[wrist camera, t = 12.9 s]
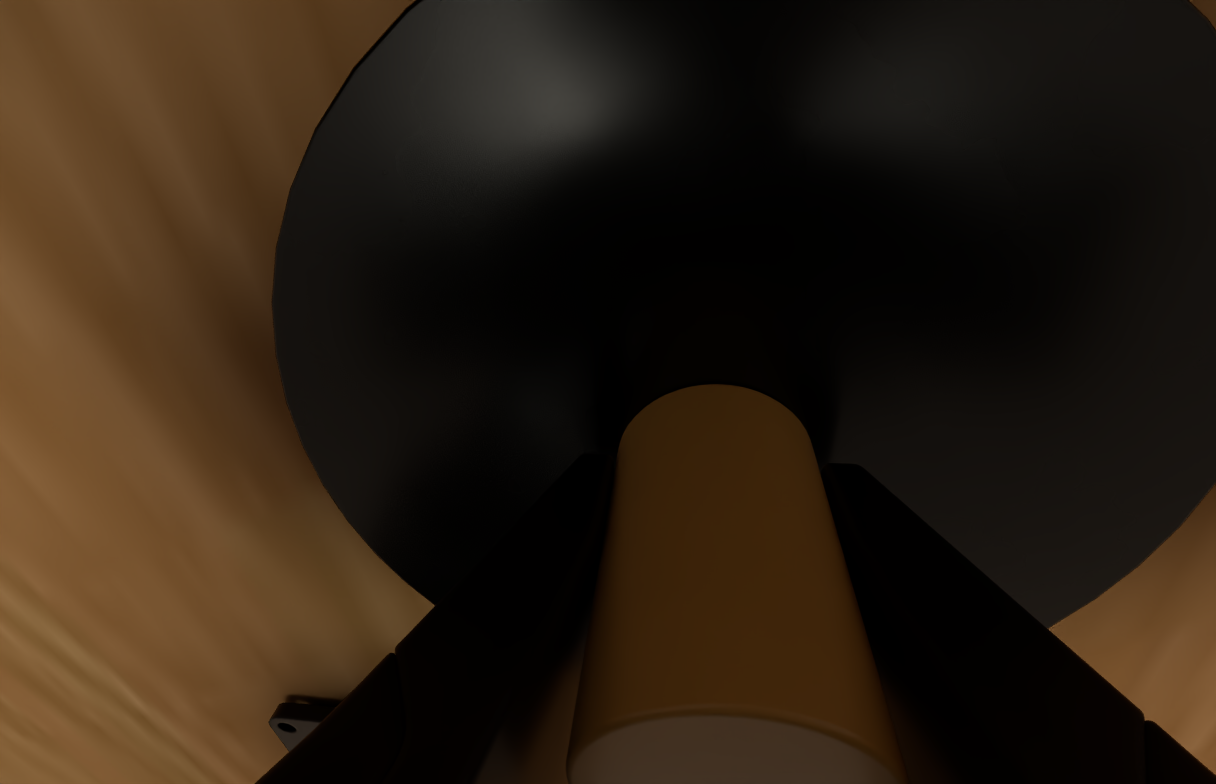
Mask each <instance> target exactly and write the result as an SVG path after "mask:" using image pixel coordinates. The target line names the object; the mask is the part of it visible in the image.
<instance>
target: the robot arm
mask: <svg viewBox="0 0 1216 784" xmlns="http://www.w3.org/2000/svg"><path fill="white" fill-rule="evenodd" d="M614 472H615V470H614V460H613V458H612V456H610V455H608V454H582V455H581V456H579V457H578V458H577V459H576V460H575V461H574V462H573V463H572V464H571V465H570V466H569V467H568V468H567V470H566V471H565V472H564V473H563V474H562V475H561V476H560V477H559V478H558V479H557V480H556V481H555V482H554V483H553V484H552V485H551V486H550V487H549V488H548V489H547V490H546V491H545V492H544V493H543V494H542V495H541V497H540V498H539V499H538V500H537V501H536V502H535V503H534V504H533V505H532V506H531V507H530V508H529V509H528V510H527V511H526V512H525V513H524V514H523V515H522V516H521V517H520V518H519V519H518V520H517V521H516V522H515V524H514V525H513V526H512V527H511V528H510V529H509V530H508V531H507V532H506V533H505V534H504V535H503V536H502V537H501V538H500V539H499V540H498V541H497V542H496V543H495V544H494V545H493V546H492V547H491V548H490V549H489V550H488V552H487V553H486V554H485V555H484V556H483V557H482V558H481V559H480V560H479V561H478V562H477V563H476V564H475V565H474V566H473V567H472V568H471V569H470V570H469V571H468V572H467V573H466V574H465V575H464V576H463V577H462V579H461V580H460V581H459V582H458V583H457V584H456V585H455V586H454V587H453V588H452V589H451V590H450V591H449V592H448V593H447V594H446V595H445V596H444V597H443V598H442V599H441V600H440V601H439V602H438V603H437V604H436V606H435V607H434V608H433V609H432V610H431V611H430V612H429V613H428V614H427V615H426V616H425V617H424V618H423V619H422V620H421V621H420V622H419V623H418V624H417V625H416V626H415V627H414V628H413V629H412V630H411V631H410V633H409V634H408V635H407V636H406V637H405V638H404V639H403V640H402V641H401V642H400V643H399V644H398V645H397V646H396V648H395V654H396V655H395V654H394V653H389V654H388V655H387V656H386V657H385V658H384V659H383V660H382V661H381V662H380V663H379V664H378V665H377V666H376V667H375V668H374V669H373V670H372V672H371V673H370V674H369V675H368V676H367V677H366V678H365V679H364V680H363V681H362V682H361V683H360V684H359V685H358V686H357V687H356V688H355V689H354V690H353V691H352V692H351V693H350V694H349V695H348V696H347V697H346V698H345V699H344V700H343V701H342V702H341V703H340V704H339V705H338V706H337V707H336V708H335V707H326V706H316V705H306V704H297V703H281V704H279V705H278V707H277V709H276V710H275V712H274V713H273V715H272V717H271V718H270V720H269V725H270V727H271V728H272V729H273V731H274V732H275V733H276V735H277V736H278V737H279V739H280V740H281V741H282V743H283V744H284V745H285V747H286V748H287V749H288V751H289V753H288V754H286V755H285V756H284V757H283V758H282V759H281V760H280V761H279V762H278V763H277V764H276V765H274V766H273V767H272V768H271V769H270V770H269V771H268V772H267V773H266V774H265V775H264V776H262V777H261V778H260V779H259V780H258V781H257V782H256V783H255V784H569V782H568V779H567V774H566V758H567V752H568V746H569V740H570V734H571V729H572V723H573V717H574V711H575V705H576V699H577V693H578V687H579V681H580V675H581V669H582V663H583V657H584V651H585V645H586V639H587V633H588V627H589V621H590V615H591V609H592V603H593V597H594V591H595V585H596V579H597V573H598V567H599V561H600V555H601V549H602V544H603V538H604V532H605V526H606V520H607V514H608V508H609V502H610V496H611V490H612V484H613V478H614ZM821 478H822V481H823V485H824V488H825V491H826V495H827V498H828V502H829V505H830V509H831V512H832V516H833V519H834V522H835V526H836V529H837V533H838V536H839V540H840V543H841V547H842V550H843V553H844V557H845V560H846V564H847V567H848V571H849V574H850V578H851V581H852V584H853V588H854V591H855V595H856V598H857V602H858V605H859V609H860V612H861V615H862V619H863V622H864V626H865V629H866V633H867V636H868V640H869V643H870V646H871V650H872V653H873V657H874V660H875V664H876V667H877V671H878V674H879V677H880V681H881V684H882V688H883V691H884V695H885V698H886V702H887V705H888V709H889V712H890V715H891V719H892V722H893V726H894V729H895V733H896V736H897V740H898V743H899V746H900V750H901V753H902V757H903V760H904V764H905V767H906V771H907V774H908V777H909V781H910V784H1216V775H1215V774H1214V773H1213V772H1211V771H1210V770H1209V769H1208V768H1207V767H1205V766H1204V765H1203V764H1202V763H1201V762H1200V761H1199V760H1197V759H1196V758H1195V757H1194V756H1193V755H1192V754H1190V753H1189V752H1188V751H1187V750H1186V749H1185V748H1184V747H1182V746H1181V745H1180V744H1179V743H1178V742H1177V741H1176V740H1174V739H1173V738H1172V737H1171V736H1170V735H1169V734H1168V733H1166V732H1165V731H1164V730H1163V729H1162V728H1161V727H1160V726H1158V725H1157V724H1156V723H1155V722H1153V721H1149V720H1146V721H1145V719H1144V714H1143V713H1142V711H1141V710H1140V709H1139V708H1137V707H1136V706H1135V705H1134V704H1133V703H1132V702H1131V701H1129V700H1128V699H1127V698H1126V697H1125V696H1124V695H1123V694H1121V693H1120V692H1119V691H1118V690H1117V689H1116V688H1115V687H1113V686H1112V685H1111V684H1110V683H1109V682H1108V681H1107V680H1105V679H1104V678H1103V677H1102V676H1101V675H1100V674H1099V673H1097V672H1096V671H1095V670H1094V669H1093V668H1092V667H1091V666H1089V665H1088V664H1087V663H1086V662H1085V661H1084V660H1083V659H1081V658H1080V657H1079V656H1078V655H1077V654H1076V653H1075V652H1073V651H1072V650H1071V649H1070V648H1069V647H1068V646H1067V645H1065V644H1064V643H1063V642H1062V641H1061V640H1060V639H1059V638H1057V637H1056V636H1055V635H1054V634H1053V633H1052V632H1051V631H1049V630H1048V629H1047V628H1046V627H1045V626H1044V625H1043V624H1041V623H1040V622H1039V621H1038V620H1037V619H1036V618H1035V617H1033V616H1032V615H1031V614H1030V613H1029V612H1028V611H1027V610H1025V609H1024V608H1023V607H1022V606H1021V605H1020V604H1019V603H1017V602H1016V601H1015V600H1014V599H1013V598H1012V597H1011V596H1009V595H1008V594H1007V593H1006V592H1005V591H1004V590H1003V589H1001V588H1000V587H999V586H998V585H997V584H996V583H995V582H993V581H992V580H991V579H990V578H989V577H988V576H987V575H985V574H984V573H983V572H982V571H981V570H980V569H979V568H977V567H976V566H975V565H974V564H973V563H972V562H971V561H969V560H968V559H967V558H966V557H965V556H964V555H963V554H961V553H960V552H959V551H958V550H957V549H956V548H955V547H953V546H952V545H951V544H950V543H949V542H948V541H947V540H945V539H944V538H943V537H942V536H941V535H940V534H939V533H937V532H936V531H935V530H934V529H933V528H932V527H931V526H929V525H928V524H927V523H926V522H925V521H924V520H923V519H921V518H920V517H919V516H918V515H917V514H916V513H915V512H913V511H912V510H911V509H910V508H909V507H908V506H907V505H905V504H904V503H903V502H902V501H901V500H900V499H899V498H897V497H896V496H895V495H894V494H893V493H892V492H891V491H889V490H888V489H887V488H886V487H885V486H884V485H883V484H881V483H880V482H879V481H878V480H877V479H876V478H875V477H873V476H872V475H871V474H870V473H869V472H868V471H867V470H865V469H864V468H863V467H861V466H860V465H857V464H846V463H828V464H826V465H824V466H823V468H822V470H821Z"/></svg>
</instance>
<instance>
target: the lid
mask: <svg viewBox="0 0 1216 784" xmlns="http://www.w3.org/2000/svg"><path fill="white" fill-rule="evenodd" d="M272 313H273V327H274V340H275V353H276V359H277V363H278V368H279V372H280V376H281V381H282V385H283V390H284V394H285V399H286V403H287V406H288V408H289V411H290V414H291V416H292V419H293V422H294V424H295V427H296V430H297V433H298V435H299V438H300V441H301V443H302V446H303V448H304V450H305V452H306V454H307V456H308V457H309V459H310V461H311V463H312V465H313V467H314V469H315V471H316V473H317V475H318V477H319V479H320V480H321V482H322V484H323V486H324V487H325V489H326V490H327V492H328V493H329V495H330V496H331V498H332V499H333V501H334V502H335V504H336V505H337V507H338V508H339V509H340V511H341V512H342V514H343V515H344V517H345V518H346V520H347V521H348V522H349V523H350V525H351V526H352V527H353V528H354V529H355V531H356V532H357V533H358V534H359V535H360V536H361V538H362V539H363V540H364V541H365V542H366V543H367V545H368V546H369V547H370V548H371V549H372V550H373V552H374V553H375V554H376V555H377V556H378V557H379V558H380V559H382V560H383V561H384V562H385V563H386V564H387V565H388V566H389V567H390V568H391V569H392V570H393V571H394V572H395V573H396V574H397V575H398V576H399V577H400V578H401V579H402V580H404V581H405V582H406V583H407V584H408V585H410V586H411V587H412V588H413V589H415V590H416V591H417V592H419V593H420V594H421V595H422V596H424V597H425V598H426V599H427V600H429V601H430V602H431V603H432V604H434V605H435V606H436V604H437V603H438V602H439V601H440V600H441V599H442V598H443V597H444V596H445V595H446V594H447V593H448V592H449V591H450V590H451V589H452V588H453V587H454V586H455V585H456V584H457V583H458V582H459V581H460V580H461V579H462V577H463V576H464V575H465V574H466V573H467V572H468V571H469V570H470V569H471V568H472V567H473V566H474V565H475V564H476V563H477V562H478V561H479V560H480V559H481V558H482V557H483V556H484V555H485V554H486V553H487V552H488V550H489V549H490V548H491V547H492V546H493V545H494V544H495V543H496V542H497V541H498V540H499V539H500V538H501V537H502V536H503V535H504V534H505V533H506V532H507V531H508V530H509V529H510V528H511V527H512V526H513V525H514V524H515V522H516V521H517V520H518V519H519V518H520V517H521V516H522V515H523V514H524V513H525V512H526V511H527V510H528V509H529V508H530V507H531V506H532V505H533V504H534V503H535V502H536V501H537V500H538V499H539V498H540V497H541V495H542V494H543V493H544V492H545V491H546V490H547V489H548V488H549V487H550V486H551V485H552V484H553V483H554V482H555V481H556V480H557V479H558V478H559V477H560V476H561V475H562V474H563V473H564V472H565V471H566V470H567V468H568V467H569V466H570V465H571V464H572V463H573V462H574V461H575V460H576V459H577V458H578V457H579V456H581V455H582V454H608V455H610V456H612V458H613V460H614V470H615V472H614V478H613V484H612V490H611V496H610V502H609V508H608V514H607V520H606V526H605V532H604V538H603V544H602V549H601V555H600V561H599V567H598V573H597V579H596V585H595V591H594V597H593V603H592V609H591V615H590V621H589V627H588V633H587V639H586V645H585V651H584V657H583V663H582V669H581V675H580V681H579V687H578V693H577V699H576V705H575V711H574V717H573V723H572V729H571V734H570V740H569V746H568V752H567V758H566V774H567V779H568V782H569V784H910V781H909V777H908V774H907V771H906V767H905V764H904V760H903V757H902V753H901V750H900V746H899V743H898V740H897V736H896V733H895V729H894V726H893V722H892V719H891V715H890V712H889V709H888V705H887V702H886V698H885V695H884V691H883V688H882V684H881V681H880V677H879V674H878V671H877V667H876V664H875V660H874V657H873V653H872V650H871V646H870V643H869V640H868V636H867V633H866V629H865V626H864V622H863V619H862V615H861V612H860V609H859V605H858V602H857V598H856V595H855V591H854V588H853V584H852V581H851V578H850V574H849V571H848V567H847V564H846V560H845V557H844V553H843V550H842V547H841V543H840V540H839V536H838V533H837V529H836V526H835V522H834V519H833V516H832V512H831V509H830V505H829V502H828V498H827V495H826V491H825V488H824V485H823V481H822V478H821V470H822V468H823V466H824V465H826V464H828V463H846V464H857V465H860V466H861V467H863V468H864V469H865V470H867V471H868V472H869V473H870V474H871V475H872V476H873V477H875V478H876V479H877V480H878V481H879V482H880V483H881V484H883V485H884V486H885V487H886V488H887V489H888V490H889V491H891V492H892V493H893V494H894V495H895V496H896V497H897V498H899V499H900V500H901V501H902V502H903V503H904V504H905V505H907V506H908V507H909V508H910V509H911V510H912V511H913V512H915V513H916V514H917V515H918V516H919V517H920V518H921V519H923V520H924V521H925V522H926V523H927V524H928V525H929V526H931V527H932V528H933V529H934V530H935V531H936V532H937V533H939V534H940V535H941V536H942V537H943V538H944V539H945V540H947V541H948V542H949V543H950V544H951V545H952V546H953V547H955V548H956V549H957V550H958V551H959V552H960V553H961V554H963V555H964V556H965V557H966V558H967V559H968V560H969V561H971V562H972V563H973V564H974V565H975V566H976V567H977V568H979V569H980V570H981V571H982V572H983V573H984V574H985V575H987V576H988V577H989V578H990V579H991V580H992V581H993V582H995V583H996V584H997V585H998V586H999V587H1000V588H1001V589H1003V590H1004V591H1005V592H1006V593H1007V594H1008V595H1009V596H1011V597H1012V598H1013V599H1014V600H1015V601H1016V602H1017V603H1019V604H1020V605H1021V606H1022V607H1023V608H1024V609H1025V610H1027V611H1028V612H1029V613H1030V614H1031V615H1032V616H1033V617H1035V618H1036V619H1037V620H1038V621H1039V622H1040V623H1041V624H1043V625H1044V626H1045V627H1046V628H1049V627H1051V626H1053V625H1054V624H1056V623H1058V622H1059V621H1061V620H1063V619H1064V618H1066V617H1067V616H1069V615H1071V614H1072V613H1074V612H1075V611H1077V610H1079V609H1080V608H1082V607H1084V606H1085V605H1087V604H1088V603H1090V602H1092V601H1093V600H1095V599H1096V598H1098V597H1099V596H1100V595H1102V594H1103V593H1104V592H1105V591H1107V590H1108V589H1109V588H1111V587H1112V586H1113V585H1115V584H1116V583H1117V582H1119V581H1120V580H1121V579H1122V578H1124V577H1125V576H1126V575H1128V574H1129V573H1130V572H1132V571H1133V570H1134V569H1136V568H1137V567H1138V566H1139V565H1140V564H1141V563H1143V562H1144V561H1145V560H1146V559H1147V558H1148V557H1149V556H1150V555H1151V554H1152V553H1153V552H1154V551H1155V550H1156V549H1157V548H1158V547H1159V546H1160V545H1161V544H1163V543H1164V542H1165V541H1166V540H1167V539H1168V538H1169V537H1170V536H1171V535H1172V534H1173V533H1174V532H1175V531H1176V530H1177V529H1178V528H1179V527H1180V526H1181V525H1182V524H1183V523H1184V521H1185V520H1186V519H1187V518H1188V517H1189V515H1190V514H1191V513H1192V512H1193V511H1194V509H1195V508H1196V507H1197V506H1198V505H1199V503H1200V502H1201V501H1202V500H1203V499H1204V497H1205V496H1206V495H1207V494H1208V493H1209V491H1210V490H1211V489H1212V488H1213V486H1214V485H1215V484H1216V30H1215V29H1214V27H1213V26H1212V24H1211V23H1210V21H1209V20H1208V18H1207V17H1206V16H1205V15H1204V14H1202V13H1201V12H1200V11H1199V10H1198V9H1197V8H1196V7H1195V6H1194V5H1193V4H1192V3H1191V2H1190V1H1189V0H415V1H414V2H413V3H411V4H410V5H409V6H408V7H406V9H405V10H404V11H403V12H402V13H401V14H400V15H399V16H398V18H397V19H396V20H395V21H394V22H393V23H392V24H391V25H390V27H389V28H388V29H387V30H386V31H385V32H384V33H383V34H382V36H381V37H380V38H379V39H378V40H377V41H376V42H375V43H374V45H373V46H372V47H371V48H370V49H369V50H368V51H367V52H366V54H365V55H364V56H363V57H362V58H361V59H360V60H359V61H358V63H357V64H356V65H355V66H354V67H353V69H352V71H351V72H350V74H349V75H348V77H347V78H346V80H345V82H344V83H343V85H342V86H341V88H340V90H339V91H338V93H337V94H336V96H335V98H334V99H333V101H332V102H331V104H330V106H329V107H328V109H327V110H326V112H325V114H324V115H323V117H322V118H321V120H320V121H319V123H318V125H317V126H316V128H315V130H314V133H313V135H312V138H311V140H310V142H309V145H308V147H307V150H306V152H305V154H304V157H303V159H302V162H301V164H300V166H299V169H298V171H297V174H296V176H295V178H294V181H293V183H292V185H291V188H290V191H289V195H288V199H287V204H286V208H285V212H284V216H283V220H282V225H281V229H280V233H279V237H278V241H277V246H276V253H275V267H274V280H273V293H272Z"/></svg>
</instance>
